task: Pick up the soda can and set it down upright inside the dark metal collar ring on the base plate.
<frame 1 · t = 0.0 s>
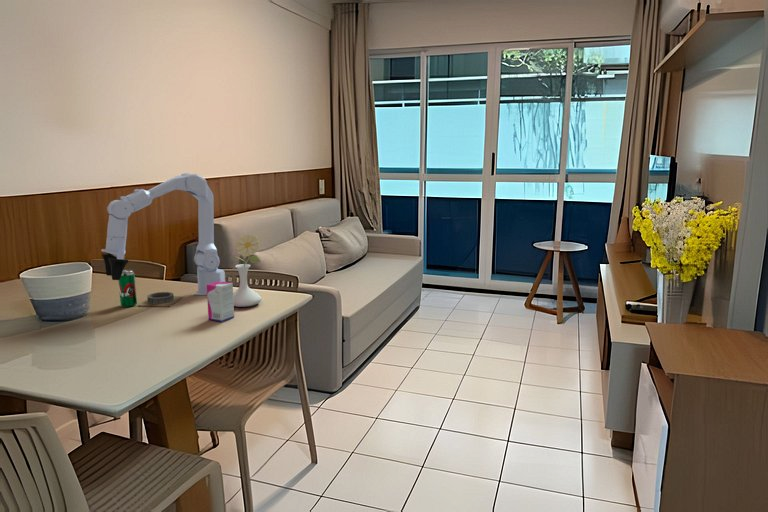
hand: (112, 277, 173), 11 cm above the table, tool pointing down, fingers open, 7 cm apart
supplement box: (221, 319, 166), on the table
soda can: (129, 306, 179), on the table
flower in vase: (246, 305, 181), on the table
can socket: (160, 302, 183), on the table
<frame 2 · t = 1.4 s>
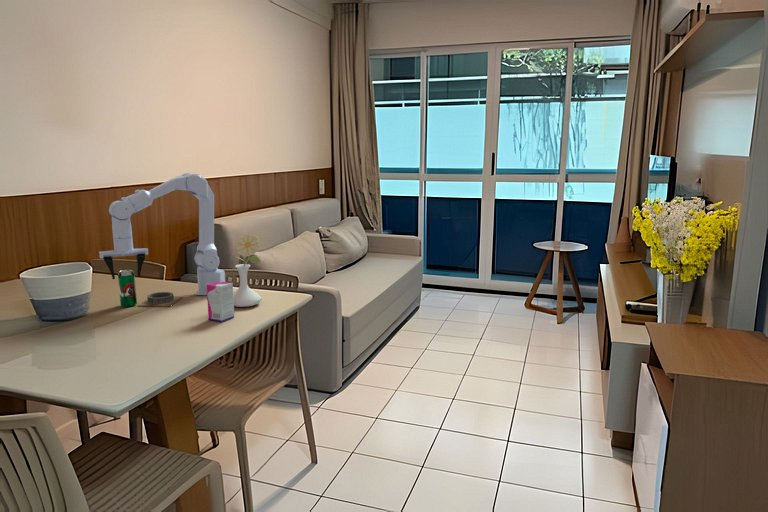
hand: (126, 277, 177), 10 cm above the table, tool pointing down, fingers open, 7 cm apart
nothing on the table moved.
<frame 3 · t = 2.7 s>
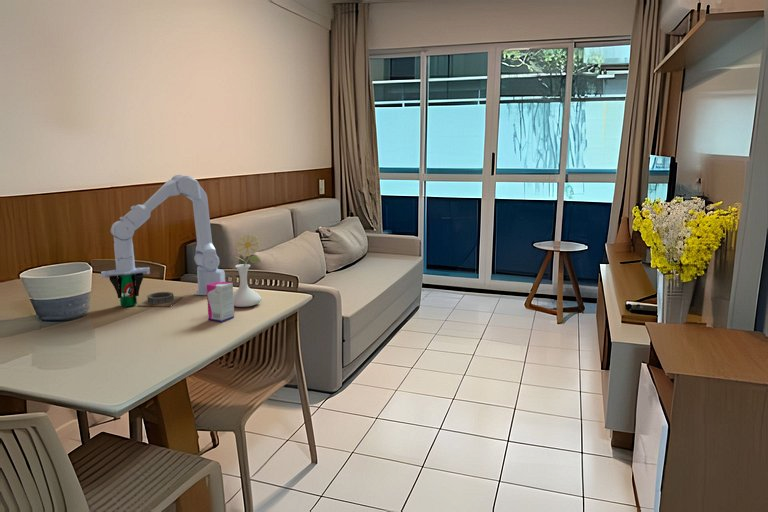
hand: (128, 296, 178), 3 cm above the table, tool pointing down, fingers closed on soda can, 5 cm apart
soda can: (129, 306, 179), on the table, touching gripper
everything else where it was.
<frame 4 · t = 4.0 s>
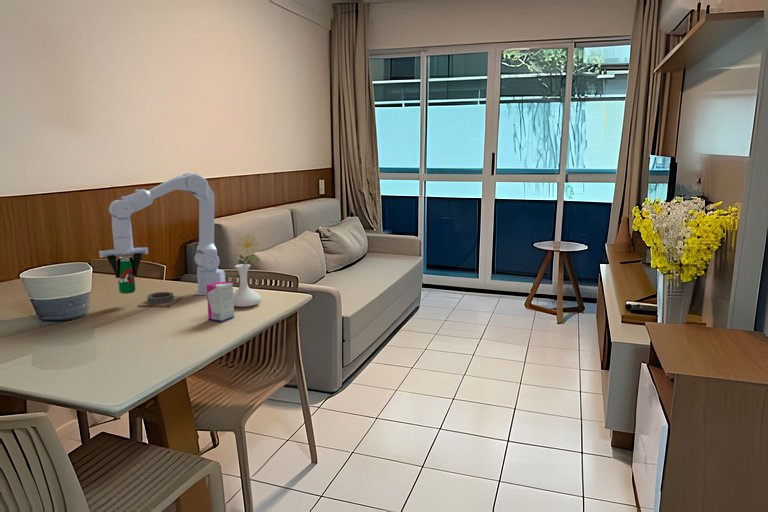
hand: (126, 276, 177), 10 cm above the table, tool pointing down, fingers closed on soda can, 5 cm apart
soda can: (127, 292, 177), point 4 cm above the table, touching gripper
everything else where it was.
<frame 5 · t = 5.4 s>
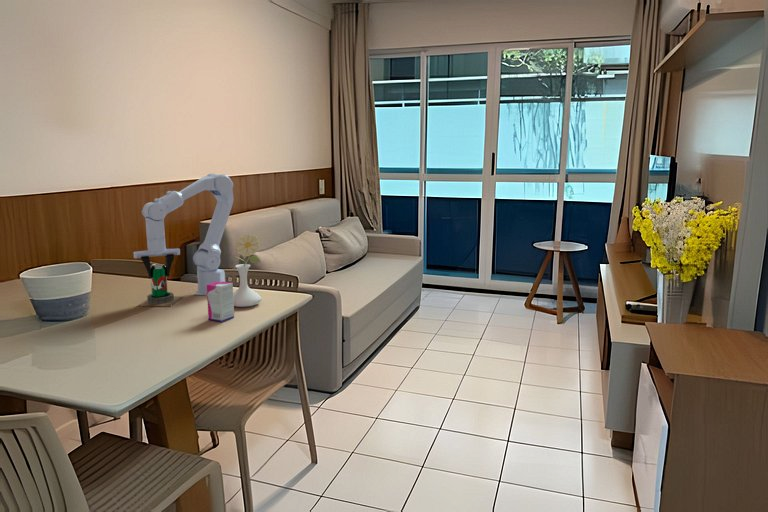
hand: (159, 276, 181), 9 cm above the table, tool pointing down, fingers closed on soda can, 5 cm apart
soda can: (159, 299, 183), point 1 cm above the table, touching gripper
everything else where it was.
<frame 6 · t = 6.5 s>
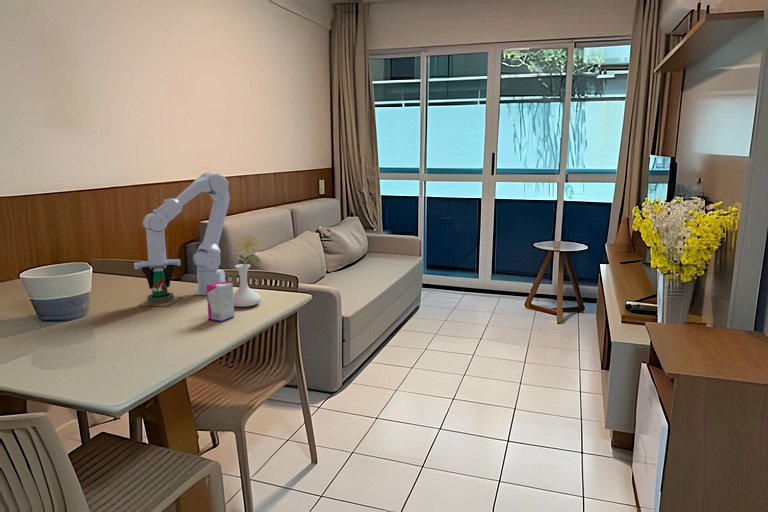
hand: (159, 287, 182), 5 cm above the table, tool pointing down, fingers closed on soda can, 5 cm apart
soda can: (160, 301, 183), resting on can socket, touching gripper
everything else where it was.
when the fingers open (5 cm above the table, at t = 6.7 s): soda can stays where it is, resting on can socket.
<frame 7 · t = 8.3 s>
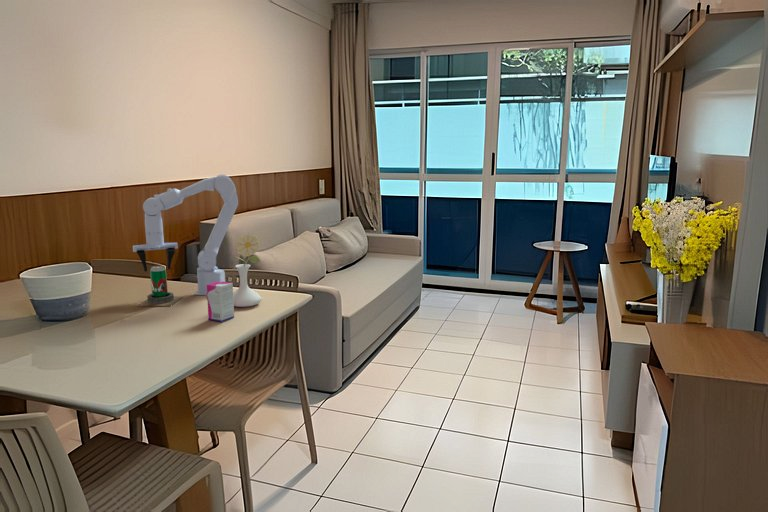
hand: (157, 269, 188), 10 cm above the table, tool pointing down, fingers open, 7 cm apart
soda can: (160, 301, 183), resting on can socket
everything else where it was.
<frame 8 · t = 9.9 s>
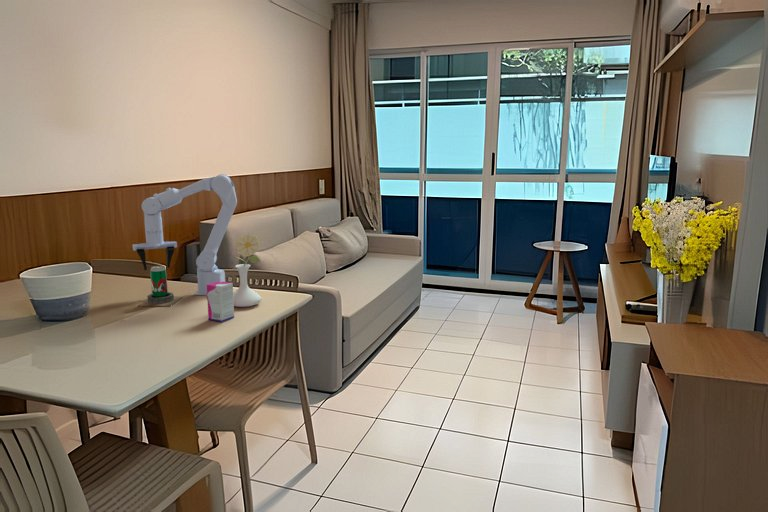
hand: (157, 268, 190), 10 cm above the table, tool pointing down, fingers open, 7 cm apart
nothing on the table moved.
at the end: soda can 0.2 cm from the can socket (horizontally); soda can tilted 0°; the gripper is holding nothing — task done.
